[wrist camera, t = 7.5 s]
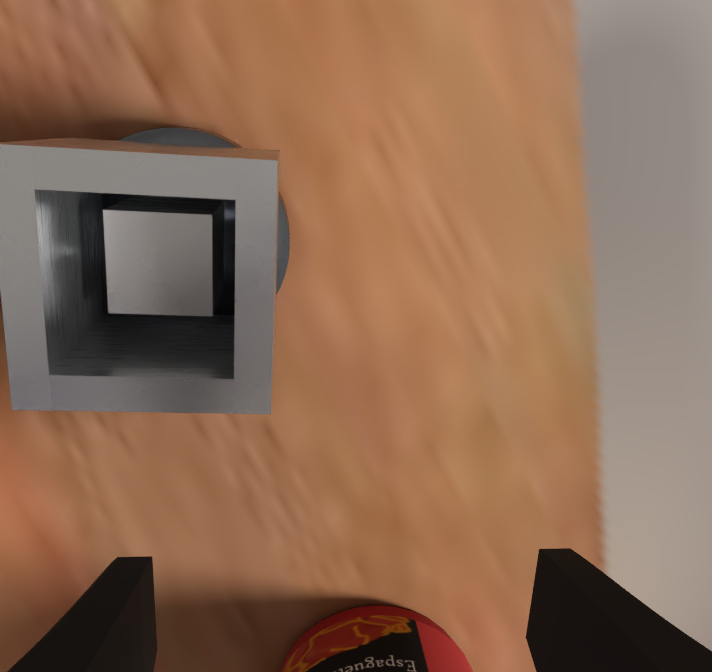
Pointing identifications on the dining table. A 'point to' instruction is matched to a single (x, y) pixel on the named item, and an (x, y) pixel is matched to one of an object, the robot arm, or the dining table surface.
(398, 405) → the dining table surface
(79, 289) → the socket
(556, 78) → the dining table surface
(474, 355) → the dining table surface
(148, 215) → the ratchet
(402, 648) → the canned food
